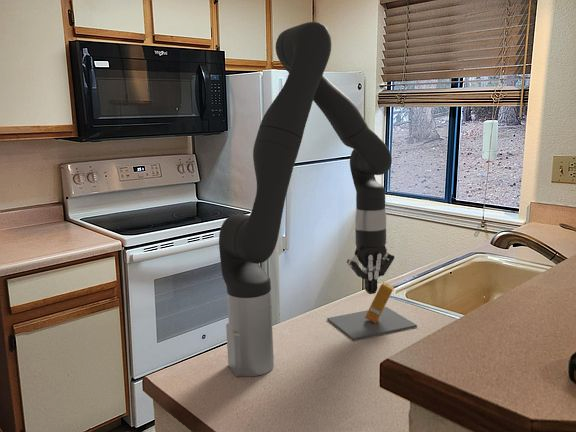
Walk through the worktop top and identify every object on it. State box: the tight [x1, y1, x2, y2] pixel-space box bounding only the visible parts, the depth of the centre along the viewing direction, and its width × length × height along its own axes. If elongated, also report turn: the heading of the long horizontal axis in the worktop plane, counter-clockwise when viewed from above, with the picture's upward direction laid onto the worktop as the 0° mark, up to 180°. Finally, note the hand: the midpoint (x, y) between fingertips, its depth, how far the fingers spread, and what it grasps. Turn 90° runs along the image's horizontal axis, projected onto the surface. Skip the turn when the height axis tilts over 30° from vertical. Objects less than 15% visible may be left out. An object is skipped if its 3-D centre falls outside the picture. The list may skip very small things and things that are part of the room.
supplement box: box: [365, 281, 395, 323], centre depth 134 cm, size 3×3×10 cm
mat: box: [327, 306, 418, 341], centre depth 135 cm, size 18×14×1 cm
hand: (370, 292), depth 134 cm, fingers closed
